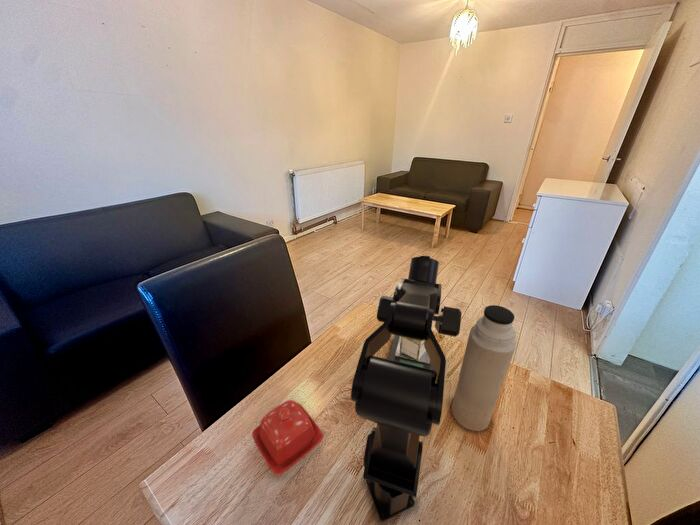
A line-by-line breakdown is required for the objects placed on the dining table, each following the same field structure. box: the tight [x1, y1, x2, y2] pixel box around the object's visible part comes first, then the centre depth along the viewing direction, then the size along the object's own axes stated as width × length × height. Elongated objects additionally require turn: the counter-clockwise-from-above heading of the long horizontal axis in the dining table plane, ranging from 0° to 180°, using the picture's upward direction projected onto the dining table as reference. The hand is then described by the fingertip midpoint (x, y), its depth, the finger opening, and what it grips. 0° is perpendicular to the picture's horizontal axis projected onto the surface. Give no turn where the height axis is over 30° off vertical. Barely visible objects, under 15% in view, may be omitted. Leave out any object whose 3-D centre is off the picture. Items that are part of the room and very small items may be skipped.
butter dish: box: [251, 399, 325, 477], centre depth 57 cm, size 12×12×8 cm
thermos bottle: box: [451, 304, 517, 432], centre depth 57 cm, size 8×8×28 cm
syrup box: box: [400, 337, 426, 361], centre depth 73 cm, size 6×6×14 cm
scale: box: [387, 335, 435, 371], centre depth 78 cm, size 12×12×3 cm
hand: (417, 320), depth 74 cm, fingers open, 9 cm apart
